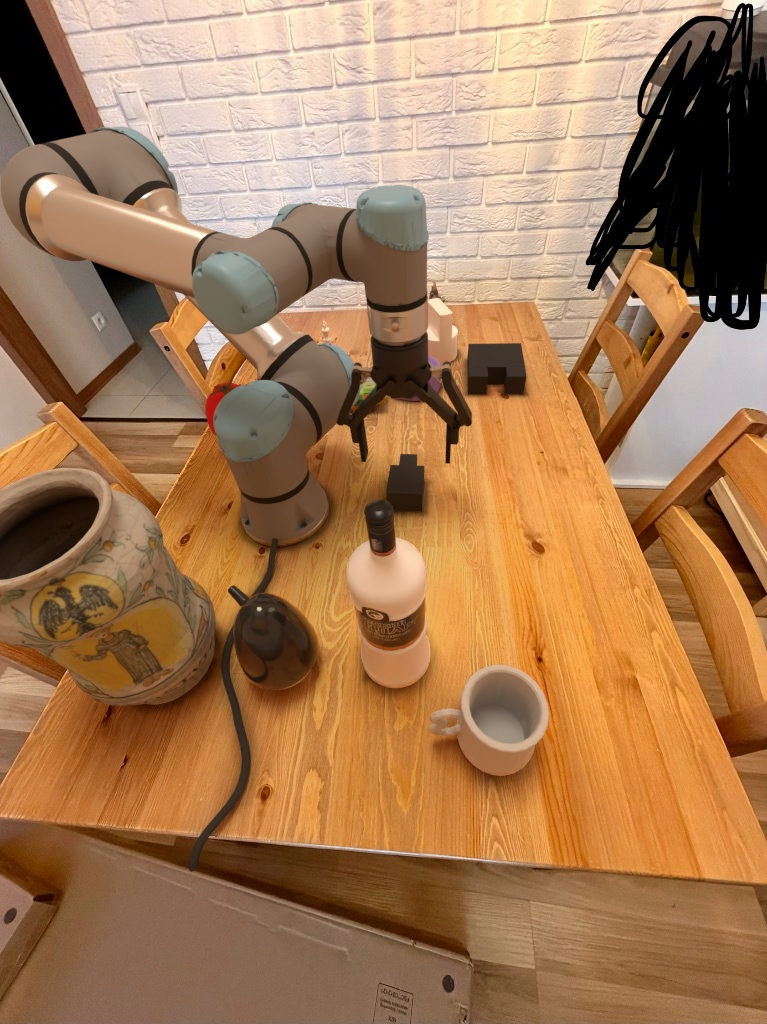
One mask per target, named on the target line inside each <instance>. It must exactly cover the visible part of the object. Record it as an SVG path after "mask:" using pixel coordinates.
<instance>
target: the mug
mask: <svg viewBox="0 0 767 1024" xmlns="http://www.w3.org/2000/svg"><path fill="white" fill-rule="evenodd" d="M448 718H453V719H457V721H456V724H455V725H453V726H449V724H450V723H449V720H448ZM549 719H550V711H549V703H548V700H547V698H546V695H545V693H544V691H543V690H542V688H541V687H540V685H539V683H538V682H536V680H535V679H533V677H531V676H530V675H529V674H527V673H526V672H524V671H523V670H521V669H519V668H517V667H515V666H511V665H508V664H490V665H485V666H484V667H482V668H480V669H478V670H476V671H475V672H474V673H473V674H471V676H469V677H468V679H467V680H466V682H465V684H464V686H463V689H462V692H461V696H460V709H458V708H452V707H449V708H448V707H447V708H441V709H438V710H435V711H433V712H431V713H430V716H429V721H430V722H431V724H430V725H429V728H428V731H429V733H430V734H432V735H434V736H438V737H452V736H455V735H456V738H457V741H458V745H459V747H460V750H461V752H462V754H463V755H464V757H465V758H466V759H467V760H468V762H469V763H470V764H471V765H472V766H474V767H475V768H476V769H478V770H479V771H481V772H482V773H485V774H489V775H491V776H498V777H499V776H500V777H504V776H509V775H514V774H515V773H517V772H519V771H521V770H523V769H524V768H525V766H527V764H528V763H529V762H530V761H531V759H532V756H533V755H534V752H535V747H536V746H537V744H538V743H539V742H540V741H541V740H542V738H544V735H545V733H546V731H547V730H548V725H549Z"/></svg>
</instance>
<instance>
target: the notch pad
mask: <svg viewBox="0 0 767 1024" xmlns="http://www.w3.org/2000/svg"><path fill="white" fill-rule="evenodd" d="M522 346H523V345H522V342H513V343H512V342H511V343H510V342H508V343H507V342H504V343H503V342H500V343H497V342H496V343H468V346H467V358H466V360H467V361H466V363H467V365H466V366H467V367H466V368H467V371H466V372H467V375H466V377H467V395H487V391H488V390H487V389H488V386H489V385H490V386H503V391H504V395H524V394H525V387H526V383H527V377H528V375H527V370H526V365H525V358H524V353H523V347H522Z"/></svg>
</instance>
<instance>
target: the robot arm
mask: <svg viewBox="0 0 767 1024" xmlns="http://www.w3.org/2000/svg"><path fill="white" fill-rule="evenodd" d="M169 166H170V164H169V162H168V160H167V158H166V157H165V156H164V154H163V152H161V150H160V149H159V148H158V146H156V144H155V143H154V142H152V141H151V140H150V139H149V138H148V137H147V136H146V135H144V134H143V133H141V132H139V131H138V130H136V129H134V128H131V127H127V126H121V125H120V126H113V127H108V126H102V127H98V128H95V129H93V130H91V131H90V132H88V133H84V134H80V135H76V136H75V135H74V136H71V137H67V138H61V139H57V140H52V141H49V142H45V143H38V144H35V145H31V146H27V147H25V148H23V149H22V150H19V151H18V152H16V153H15V154H14V155H13V156H12V157H11V158H10V159H9V161H8V162H7V163H6V165H5V167H4V169H3V171H2V175H1V179H0V196H1V200H2V205H3V208H4V210H5V213H6V215H7V217H8V219H9V220H10V222H11V224H12V225H13V227H14V228H15V229H16V230H17V231H18V233H19V234H20V235H21V236H22V237H23V238H24V239H25V240H26V241H27V242H29V243H30V244H31V245H33V246H34V247H36V248H37V249H39V250H40V251H42V252H43V253H46V254H49V255H51V256H53V257H55V258H59V259H60V260H61V259H62V260H64V261H68V262H83V261H85V260H88V261H91V262H93V263H96V264H99V265H101V266H104V267H107V268H110V269H113V270H115V271H118V272H121V273H124V274H127V275H129V276H132V277H134V278H138V279H140V280H141V281H142V280H143V281H145V282H148V283H151V284H153V285H156V286H159V287H161V288H164V289H167V290H170V291H173V292H176V293H178V294H181V295H183V296H184V297H185V298H186V299H187V300H188V301H189V302H190V303H191V304H192V305H193V306H194V307H195V308H196V309H197V310H198V312H200V314H202V315H203V317H205V318H206V320H208V321H209V322H210V324H211V325H212V326H213V327H215V328H216V330H217V331H219V333H220V334H222V336H223V337H224V338H225V339H226V340H227V341H228V342H229V343H230V344H231V345H232V346H233V347H234V348H235V349H236V350H237V351H238V352H239V354H241V355H242V356H243V358H245V359H246V361H247V362H249V363H250V365H251V366H253V367H254V368H255V369H256V377H257V380H251V381H250V382H249V384H243V383H242V384H243V385H240V386H238V387H236V388H235V389H233V390H232V391H230V392H229V393H228V394H227V395H225V396H224V397H223V399H222V400H221V401H220V402H219V404H218V405H217V407H216V409H215V412H214V416H213V426H214V430H215V433H216V436H217V437H216V436H215V437H216V439H217V444H218V447H219V449H220V451H221V453H222V454H223V455H224V458H225V460H226V462H227V464H228V467H229V469H230V471H231V474H232V476H233V479H234V481H235V483H236V486H237V487H238V489H239V493H240V498H239V499H240V500H239V501H240V502H239V504H240V505H239V516H240V521H241V524H242V527H243V529H244V530H245V533H246V535H247V536H248V537H249V538H250V539H251V540H252V541H254V542H256V543H258V544H259V545H262V546H266V547H267V546H268V547H270V550H269V555H268V564H267V569H266V573H265V575H264V577H263V579H262V581H261V582H260V583H259V585H258V587H256V589H255V590H254V591H253V593H252V594H251V595H250V596H249V598H250V597H252V596H254V595H257V594H261V593H263V592H264V590H265V589H266V587H267V586H268V584H269V582H270V581H271V578H272V577H273V576H272V575H273V573H274V568H275V561H276V553H277V549H278V548H280V547H281V548H282V547H289V546H292V545H296V544H298V543H299V544H300V543H302V542H303V541H306V540H307V539H309V538H311V537H312V536H314V535H315V534H316V533H317V532H319V530H321V528H322V527H323V526H324V524H325V523H326V520H327V519H328V516H329V511H330V507H329V506H330V504H329V500H328V496H327V493H326V491H325V489H324V488H323V486H322V485H321V484H320V483H319V481H318V480H317V479H316V478H315V476H314V475H313V474H312V472H311V471H310V468H309V464H308V460H307V453H308V452H309V451H310V450H311V449H312V448H313V447H314V446H315V445H316V444H317V443H319V441H321V440H322V438H323V437H324V436H326V435H327V434H328V433H329V432H330V431H331V430H332V429H333V428H334V427H335V426H336V425H338V426H341V427H342V426H347V427H348V428H349V430H350V431H349V432H350V437H351V442H352V443H353V444H358V448H359V449H358V450H359V455H360V462H361V463H367V459H368V454H369V448H368V439H367V432H366V431H367V430H366V423H365V419H366V418H367V417H368V415H369V414H370V413H371V412H372V411H373V410H374V409H375V408H376V406H377V405H379V404H378V403H379V402H381V401H382V400H383V399H384V397H385V396H387V397H390V399H393V400H394V399H395V400H396V399H399V398H401V397H403V398H413V397H414V396H417V397H418V398H419V399H420V400H419V401H421V403H425V404H426V405H427V406H428V407H429V408H430V409H431V410H432V411H433V412H434V413H435V414H436V415H437V416H438V417H439V418H440V419H442V420H443V421H444V423H446V426H445V427H446V428H445V456H444V457H445V462H444V463H445V464H451V451H452V449H451V448H452V445H458V444H459V440H460V438H459V437H460V428H461V427H464V426H465V427H470V426H472V424H473V412H472V410H471V408H470V406H469V405H468V402H467V401H466V399H465V397H464V395H463V393H462V391H461V389H460V387H459V386H458V384H457V382H456V380H455V378H454V377H453V372H452V363H451V362H448V361H445V362H444V363H443V364H441V365H440V366H434V367H431V366H430V364H429V362H428V333H427V332H426V331H427V329H428V300H429V297H428V244H429V239H430V237H429V235H430V234H429V232H428V222H427V221H428V220H427V207H426V206H427V205H426V199H425V196H424V194H423V193H422V191H420V190H419V189H418V188H417V187H415V186H411V185H405V184H404V185H403V184H394V185H381V186H376V187H375V186H374V187H372V188H368V189H367V190H365V191H363V192H361V193H360V194H359V195H358V197H357V199H356V208H354V207H353V208H352V207H343V206H334V205H333V206H332V205H324V204H318V203H315V202H314V203H313V202H310V201H309V202H308V201H307V202H303V203H288V204H285V205H284V206H281V208H280V209H279V210H278V211H277V215H276V217H275V218H274V219H273V221H272V224H271V227H269V228H266V229H264V231H261V232H259V233H257V234H254V235H253V236H250V237H240V236H235V235H233V234H228V233H225V232H220V231H217V230H214V229H211V228H208V227H207V228H206V227H204V226H201V225H198V224H194V223H192V222H191V221H190V220H189V218H187V217H186V216H185V215H184V214H183V203H182V199H181V198H182V197H180V195H179V189H178V188H179V187H178V184H177V179H176V177H175V174H174V172H172V171H171V170H169ZM329 280H340V281H341V280H342V281H346V282H352V283H353V282H354V283H362V284H364V292H365V299H366V309H367V310H366V311H367V319H368V320H367V321H368V330H369V333H370V347H371V359H372V367H368V366H363V364H362V363H361V362H354V360H353V359H352V357H351V356H350V355H349V354H348V353H347V352H346V351H345V350H344V349H343V348H341V347H340V346H338V345H336V344H332V343H331V342H330V343H326V342H323V343H317V342H316V341H315V339H314V338H312V337H311V335H310V334H309V333H308V332H301V333H298V332H299V331H294V330H293V329H292V328H291V327H289V326H288V325H287V323H286V322H285V321H284V320H283V319H282V317H280V316H279V315H278V314H280V313H281V312H283V311H284V310H286V309H287V308H289V307H290V306H291V305H293V304H294V303H295V302H297V301H299V300H300V299H301V298H303V297H304V296H306V295H308V294H309V293H311V292H312V291H314V290H315V289H317V288H318V287H320V286H321V285H323V284H324V283H326V282H328V281H329ZM369 377H371V379H372V380H373V381H374V382H375V383H376V386H375V388H374V389H373V390H372V391H371V393H370V394H369V395H368V396H367V397H366V398H365V400H364V401H363V402H362V403H361V404H360V405H359V407H358V408H357V409H356V410H355V411H354V412H350V409H351V408H352V407H353V406H354V405H355V404H356V402H357V400H358V398H359V395H360V384H363V383H365V382H366V379H367V378H369ZM431 377H435V378H436V379H437V381H438V382H439V383H440V384H442V387H443V389H444V391H445V394H446V395H447V397H448V399H449V401H450V402H451V404H452V406H453V407H452V406H451V405H450V404H448V403H447V401H446V400H445V399H444V398H443V397H442V396H441V395H440V394H439V393H438V392H436V391H435V390H434V389H433V388H432V386H431V384H430V383H429V382H428V381H429V380H430V379H431ZM454 409H455V410H454ZM277 547H278V548H277ZM233 643H234V623H233V624H232V626H231V628H230V630H229V633H228V635H227V637H226V640H225V642H224V647H223V650H222V656H221V676H222V683H223V686H224V689H225V692H226V694H227V699H228V701H229V705H230V709H231V714H232V719H233V720H232V721H233V724H234V728H235V732H236V736H237V740H238V743H239V748H240V754H241V765H240V766H241V767H240V773H239V777H238V781H237V783H236V786H235V789H234V791H232V794H231V796H230V797H229V799H228V800H227V801H226V803H225V804H224V805H223V806H222V807H221V809H220V810H219V811H218V812H217V814H215V816H213V818H212V819H211V820H210V821H209V823H208V824H207V825H206V826H205V827H204V829H203V831H202V832H201V833H200V834H199V836H198V838H197V839H196V840H195V843H194V845H193V847H192V850H191V853H190V856H189V859H188V871H189V872H191V873H192V872H194V871H196V870H197V868H198V865H199V860H200V856H201V852H202V851H203V848H204V847H205V844H206V842H207V841H208V840H209V838H210V837H211V835H212V834H213V833H214V831H215V830H216V829H217V828H218V826H219V825H220V824H221V823H222V822H223V821H224V819H226V817H227V816H228V815H229V814H230V813H231V811H232V810H233V809H234V807H235V806H236V804H237V803H238V801H239V799H240V798H241V796H242V794H243V792H244V790H245V788H246V785H247V782H248V777H249V774H250V773H249V772H250V765H251V755H250V747H249V741H248V737H247V734H246V732H245V731H246V730H245V727H244V724H243V719H242V714H241V709H240V705H239V701H238V696H237V694H236V691H235V689H234V686H233V683H232V679H231V674H230V654H231V649H232V645H233Z"/></svg>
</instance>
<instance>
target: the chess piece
mask: <svg viewBox="0 0 767 1024" xmlns="http://www.w3.org/2000/svg"><path fill="white" fill-rule="evenodd" d="M322 323H323V324H322V328H321V333H322V335H323V338H322V341H323V342H325V343H331V340H332V337H331V335H330V332H331V327H328V326H327V325H328V322H327V321H326V320H322Z"/></svg>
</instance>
